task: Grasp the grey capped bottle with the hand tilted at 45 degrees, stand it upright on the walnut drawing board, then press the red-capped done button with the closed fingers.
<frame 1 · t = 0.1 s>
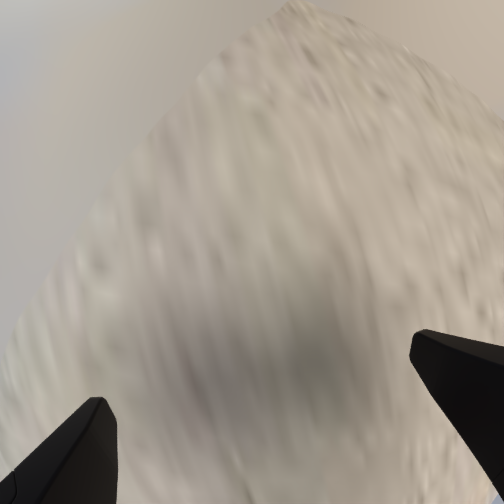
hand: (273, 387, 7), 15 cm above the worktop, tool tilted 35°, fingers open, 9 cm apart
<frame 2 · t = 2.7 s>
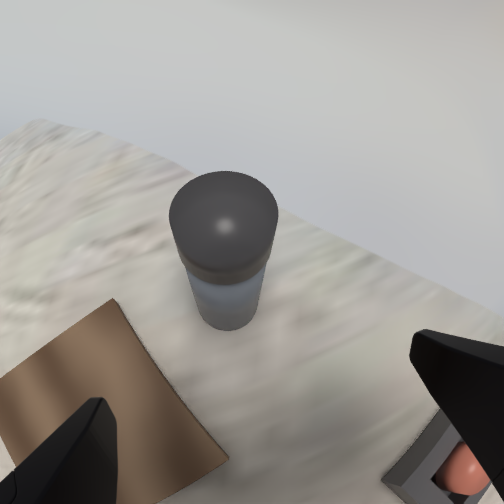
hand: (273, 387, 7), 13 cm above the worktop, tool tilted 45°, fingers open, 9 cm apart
button housing: (444, 465, 15), on the worktop
done button: (467, 467, 13), point 3 cm above the worktop, slide at 0.0 cm
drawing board: (83, 431, 16), on the worktop
grey capped bottle: (227, 302, 22), on the worktop
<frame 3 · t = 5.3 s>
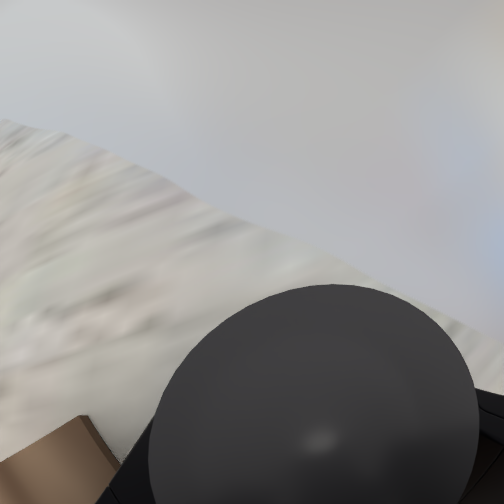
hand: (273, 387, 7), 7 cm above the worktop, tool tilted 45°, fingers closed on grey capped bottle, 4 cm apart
grey capped bottle: (260, 423, 12), on the worktop, touching gripper
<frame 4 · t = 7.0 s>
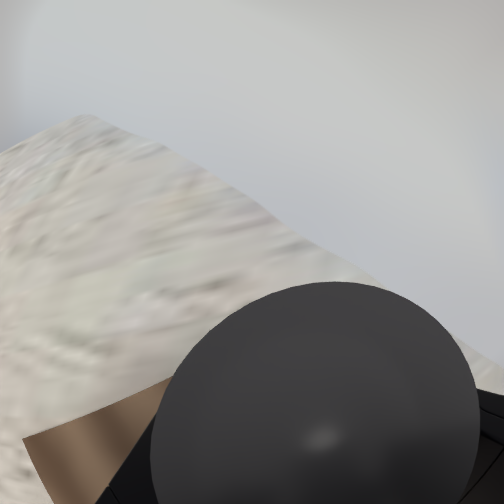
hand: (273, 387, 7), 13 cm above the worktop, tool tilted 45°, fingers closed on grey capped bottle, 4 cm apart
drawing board: (146, 494, 14), on the worktop
grey capped bottle: (260, 422, 12), point 7 cm above the worktop, touching gripper
when the fingers open (9 cm above the worktop, at t = 9.1 s): grey capped bottle stays where it is, resting on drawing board.
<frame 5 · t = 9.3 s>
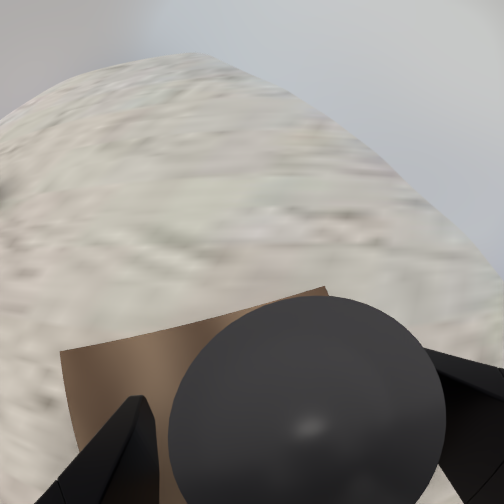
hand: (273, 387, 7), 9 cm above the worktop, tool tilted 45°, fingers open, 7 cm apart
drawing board: (226, 447, 13), on the worktop
grey capped bottle: (258, 421, 13), point 1 cm above the worktop, touching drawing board
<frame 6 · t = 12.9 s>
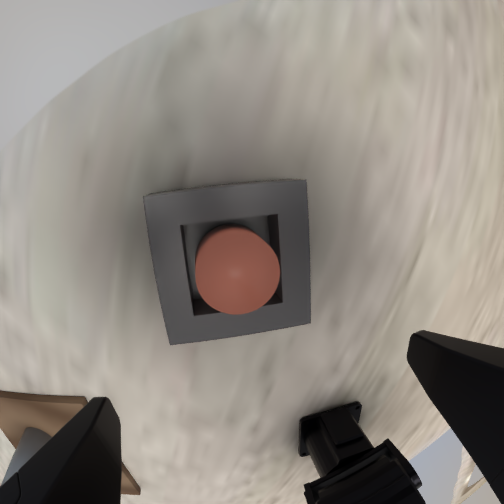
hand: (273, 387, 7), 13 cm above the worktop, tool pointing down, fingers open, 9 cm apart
button housing: (228, 253, 20), on the worktop
done button: (234, 267, 17), point 3 cm above the worktop, slide at 0.0 cm
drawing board: (60, 447, 21), on the worktop
grey capped bottle: (42, 441, 20), point 1 cm above the worktop, touching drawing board
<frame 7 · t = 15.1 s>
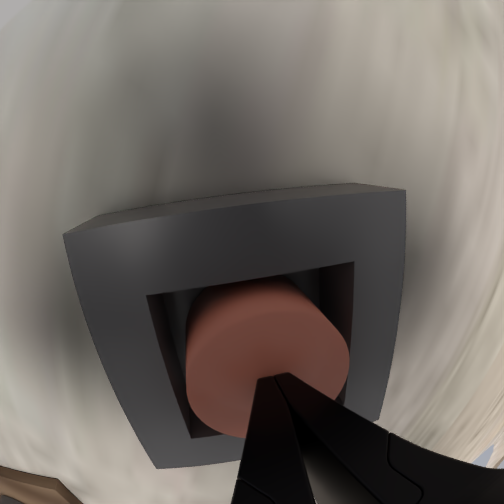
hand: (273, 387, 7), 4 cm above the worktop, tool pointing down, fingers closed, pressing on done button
button housing: (245, 318, 11), on the worktop
done button: (260, 354, 9), point 2 cm above the worktop, slide at 0.7 cm, touching gripper
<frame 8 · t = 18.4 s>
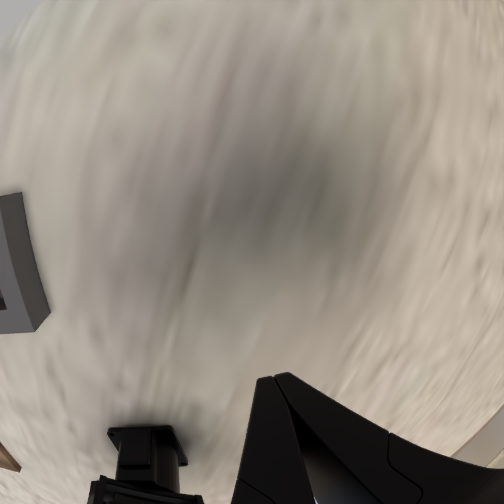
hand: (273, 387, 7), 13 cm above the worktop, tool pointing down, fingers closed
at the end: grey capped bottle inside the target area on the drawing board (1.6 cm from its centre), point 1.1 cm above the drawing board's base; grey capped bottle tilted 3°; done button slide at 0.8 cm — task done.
